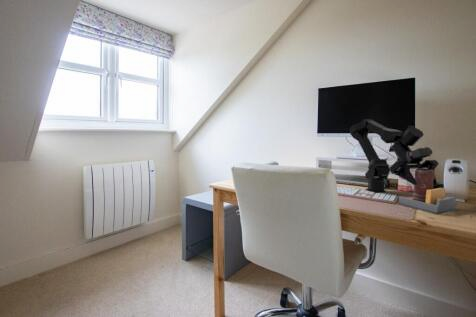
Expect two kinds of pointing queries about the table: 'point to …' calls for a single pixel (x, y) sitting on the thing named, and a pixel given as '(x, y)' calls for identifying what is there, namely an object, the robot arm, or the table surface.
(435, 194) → the wedge
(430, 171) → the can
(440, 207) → the grey shallow open box
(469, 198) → the table surface
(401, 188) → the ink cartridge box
